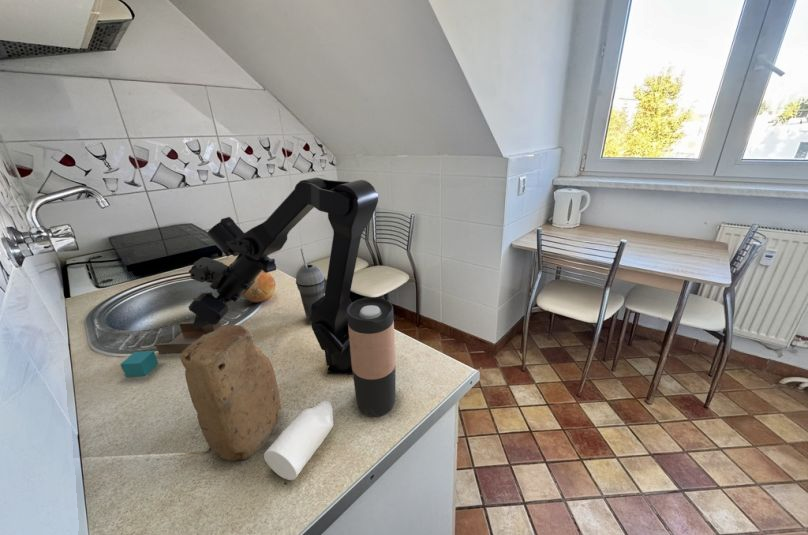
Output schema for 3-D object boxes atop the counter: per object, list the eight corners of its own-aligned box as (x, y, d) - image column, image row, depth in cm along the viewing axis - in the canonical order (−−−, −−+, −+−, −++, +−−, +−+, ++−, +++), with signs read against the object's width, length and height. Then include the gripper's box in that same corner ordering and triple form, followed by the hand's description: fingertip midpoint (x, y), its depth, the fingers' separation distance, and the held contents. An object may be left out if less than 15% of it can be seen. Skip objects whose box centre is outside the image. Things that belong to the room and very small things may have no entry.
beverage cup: (322, 327, 83) (313, 255, 75) (296, 325, 84) (284, 253, 76) (334, 313, 89) (326, 245, 81) (309, 311, 90) (299, 243, 83)
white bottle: (345, 421, 56) (342, 397, 53) (298, 486, 46) (292, 459, 43) (317, 410, 58) (313, 386, 56) (267, 470, 48) (259, 443, 46)
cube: (153, 350, 68) (134, 351, 68) (140, 363, 65) (120, 364, 65) (159, 365, 70) (140, 366, 70) (146, 378, 66) (127, 379, 66)
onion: (244, 312, 91) (237, 279, 87) (241, 297, 99) (234, 267, 95) (280, 303, 95) (274, 272, 91) (275, 290, 103) (269, 261, 99)
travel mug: (363, 384, 64) (355, 295, 56) (400, 389, 62) (398, 298, 55) (349, 414, 57) (338, 318, 49) (391, 421, 56) (387, 322, 48)
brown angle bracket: (230, 331, 82) (218, 285, 77) (212, 354, 73) (197, 304, 68) (184, 333, 81) (168, 287, 76) (160, 356, 73) (140, 306, 68)
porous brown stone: (238, 473, 47) (203, 365, 40) (205, 454, 50) (166, 350, 43) (291, 418, 56) (270, 321, 49) (260, 405, 59) (236, 311, 52)
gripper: (231, 234, 77) (196, 277, 81) (185, 264, 60) (144, 317, 64) (270, 263, 80) (235, 304, 84) (237, 299, 63) (195, 348, 67)
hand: (206, 316), depth 75 cm, fingers open, 9 cm apart
